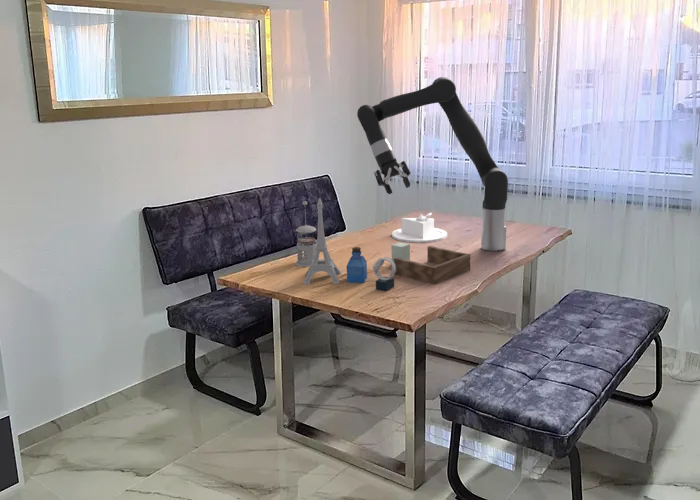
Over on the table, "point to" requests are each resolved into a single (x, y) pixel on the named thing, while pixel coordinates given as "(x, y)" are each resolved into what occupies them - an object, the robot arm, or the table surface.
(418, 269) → the walnut u-shaped frame
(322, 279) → the table surface
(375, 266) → the watch
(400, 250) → the sage block
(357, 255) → the perfume bottle
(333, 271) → the eiffel tower
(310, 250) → the french press
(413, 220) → the dish
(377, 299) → the table surface
